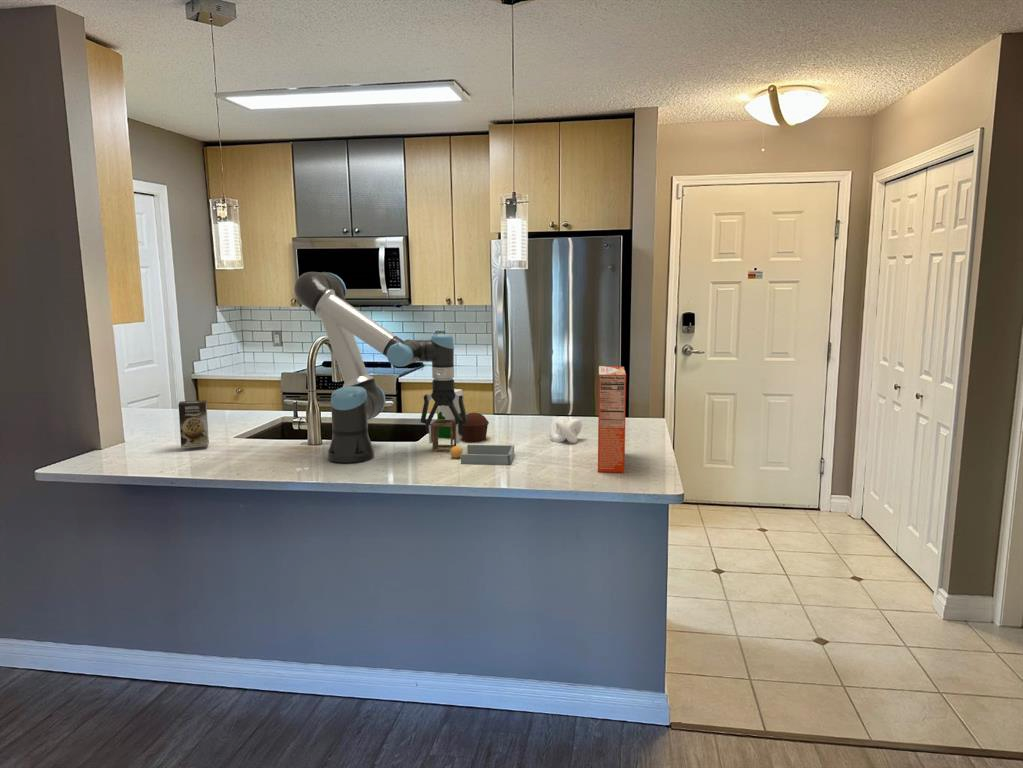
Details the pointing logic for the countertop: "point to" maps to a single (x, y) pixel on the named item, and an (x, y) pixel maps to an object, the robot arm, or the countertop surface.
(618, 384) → the cereal box
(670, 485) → the countertop surface
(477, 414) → the muffin
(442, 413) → the milk carton
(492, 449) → the u-shaped frame
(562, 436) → the white knot sculpture
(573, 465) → the countertop surface
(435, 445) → the open box frame
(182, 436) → the brown tall box
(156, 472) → the countertop surface
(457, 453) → the ball
